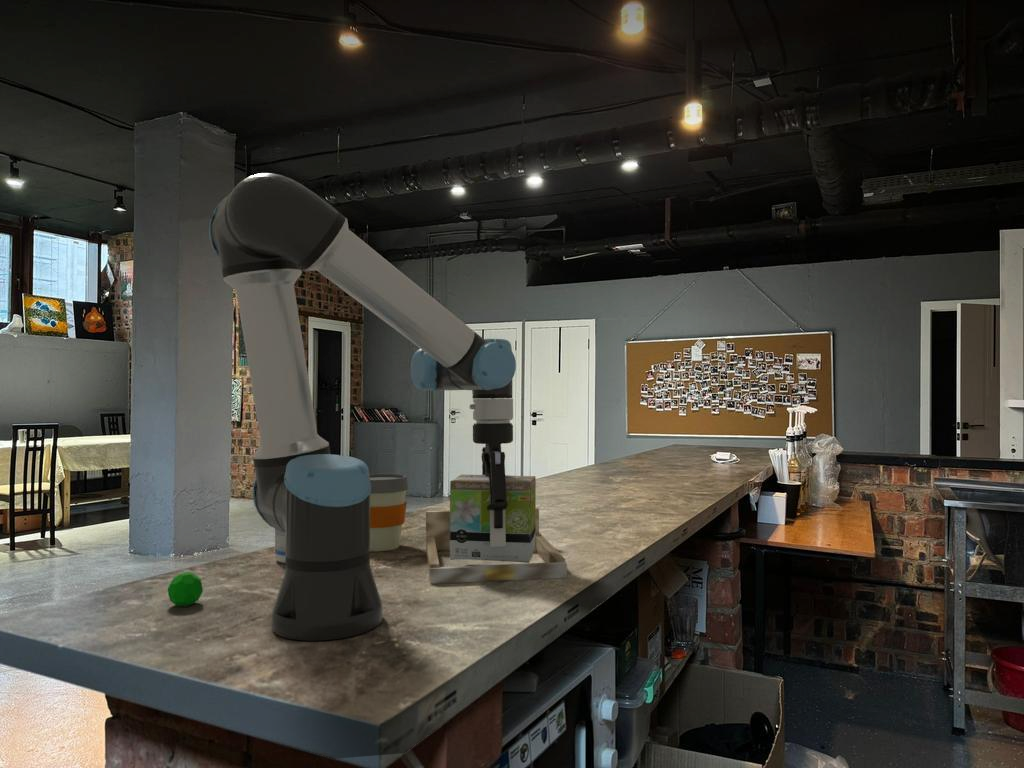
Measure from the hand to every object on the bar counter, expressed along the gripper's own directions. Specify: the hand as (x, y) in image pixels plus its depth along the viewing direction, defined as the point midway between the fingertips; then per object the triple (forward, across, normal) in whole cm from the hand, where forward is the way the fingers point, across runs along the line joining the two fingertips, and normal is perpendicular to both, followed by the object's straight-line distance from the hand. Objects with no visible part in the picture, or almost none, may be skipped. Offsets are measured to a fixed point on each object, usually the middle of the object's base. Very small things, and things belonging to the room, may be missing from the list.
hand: (493, 539), depth 131 cm
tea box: (+3, 0, 0) cm, 3 cm away
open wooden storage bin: (+5, -6, 0) cm, 8 cm away
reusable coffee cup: (+6, -24, -22) cm, 33 cm away
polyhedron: (+5, +14, -50) cm, 52 cm away
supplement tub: (+6, -14, -37) cm, 40 cm away
